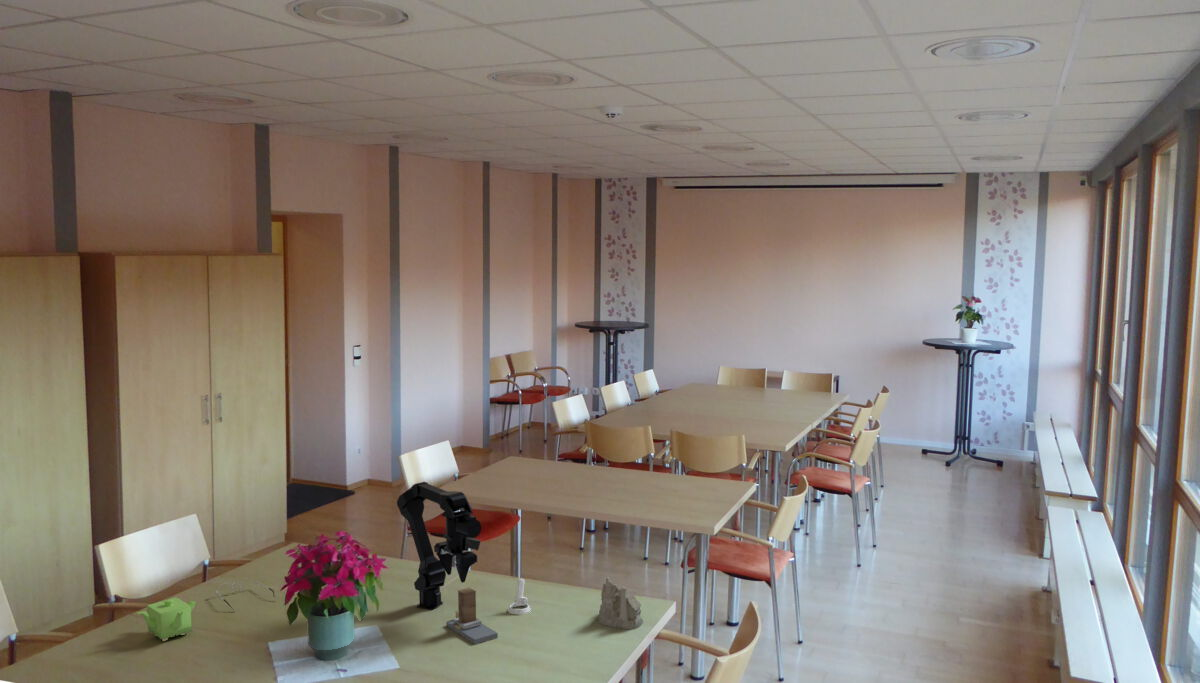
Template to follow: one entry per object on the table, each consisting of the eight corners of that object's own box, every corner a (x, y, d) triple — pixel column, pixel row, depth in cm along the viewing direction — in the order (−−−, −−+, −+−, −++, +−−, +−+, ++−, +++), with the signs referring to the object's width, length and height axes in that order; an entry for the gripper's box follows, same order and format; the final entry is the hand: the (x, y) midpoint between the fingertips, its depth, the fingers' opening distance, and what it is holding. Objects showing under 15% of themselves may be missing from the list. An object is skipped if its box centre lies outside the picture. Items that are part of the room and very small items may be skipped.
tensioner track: (446, 625, 292) (445, 613, 292) (468, 619, 297) (467, 607, 297) (474, 644, 278) (474, 631, 277) (497, 637, 283) (497, 625, 282)
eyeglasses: (258, 588, 328) (257, 574, 328) (278, 602, 314) (277, 588, 314) (212, 599, 318) (211, 585, 317) (231, 614, 304) (230, 600, 303)
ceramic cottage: (631, 631, 286) (630, 584, 286) (588, 622, 295) (588, 576, 295) (657, 618, 299) (657, 573, 298) (615, 610, 308) (615, 565, 308)
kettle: (184, 644, 280) (182, 608, 279) (136, 646, 279) (134, 610, 278) (202, 624, 295) (200, 590, 294) (156, 626, 294) (154, 592, 293)
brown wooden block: (453, 622, 290) (452, 589, 289) (470, 617, 294) (469, 585, 293) (464, 629, 285) (463, 596, 284) (481, 624, 288) (480, 591, 287)
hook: (531, 585, 313) (535, 580, 307) (527, 621, 307) (532, 616, 301) (509, 582, 311) (513, 577, 305) (505, 618, 305) (509, 613, 299)
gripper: (491, 533, 294) (492, 580, 295) (462, 520, 309) (463, 565, 310) (460, 540, 287) (461, 588, 289) (432, 526, 302) (434, 572, 303)
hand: (456, 578), depth 298 cm, fingers open, 9 cm apart
